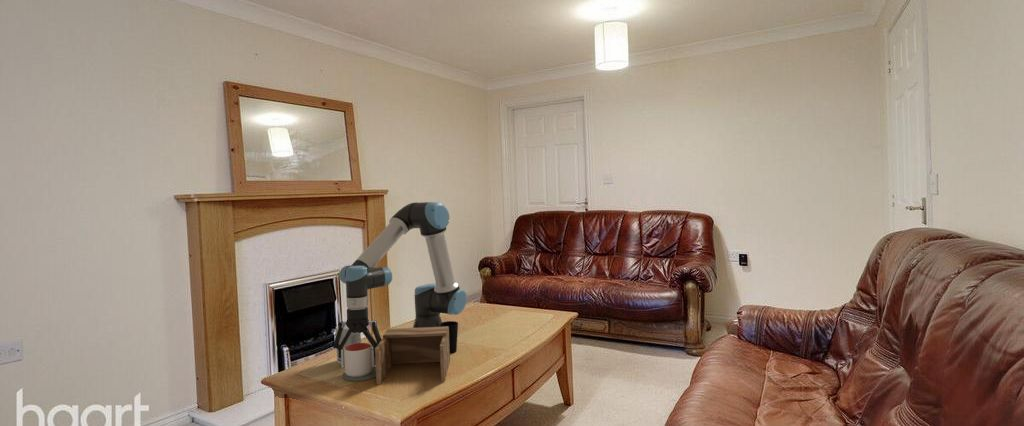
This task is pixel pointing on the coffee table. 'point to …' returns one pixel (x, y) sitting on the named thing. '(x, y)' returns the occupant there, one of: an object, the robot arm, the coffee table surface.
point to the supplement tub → (352, 339)
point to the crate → (413, 348)
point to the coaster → (361, 378)
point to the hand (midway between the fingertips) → (358, 365)
